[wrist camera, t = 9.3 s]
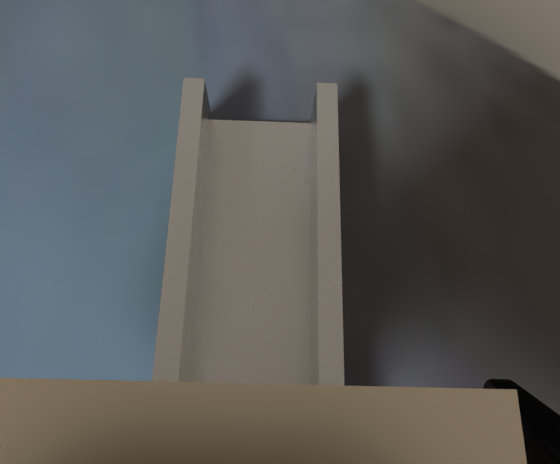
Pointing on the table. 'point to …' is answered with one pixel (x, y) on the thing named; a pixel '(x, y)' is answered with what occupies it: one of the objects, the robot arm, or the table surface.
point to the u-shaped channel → (253, 249)
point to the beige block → (254, 423)
